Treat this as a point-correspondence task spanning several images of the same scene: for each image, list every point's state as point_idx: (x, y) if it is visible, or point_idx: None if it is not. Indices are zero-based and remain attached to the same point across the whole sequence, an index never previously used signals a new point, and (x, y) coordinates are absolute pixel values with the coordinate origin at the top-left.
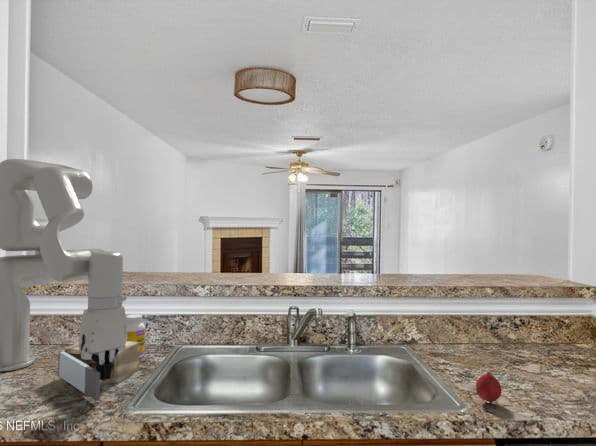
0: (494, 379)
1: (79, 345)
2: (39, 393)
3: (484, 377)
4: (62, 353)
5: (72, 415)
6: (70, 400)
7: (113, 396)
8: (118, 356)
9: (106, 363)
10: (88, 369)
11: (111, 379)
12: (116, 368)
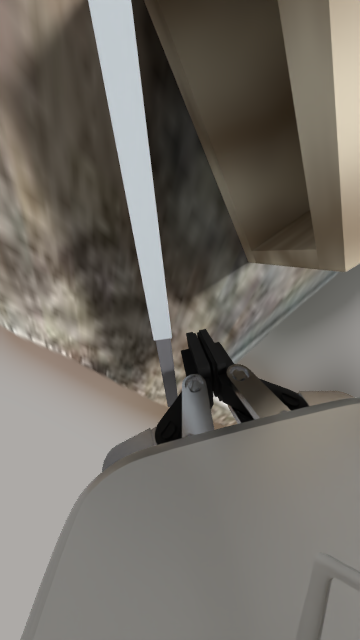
0: None
1: (49, 594)
2: (36, 161)
3: None
4: None
5: (121, 361)
6: (126, 294)
7: (204, 327)
8: (325, 268)
9: (215, 394)
10: (159, 360)
11: (246, 244)
12: (277, 258)
